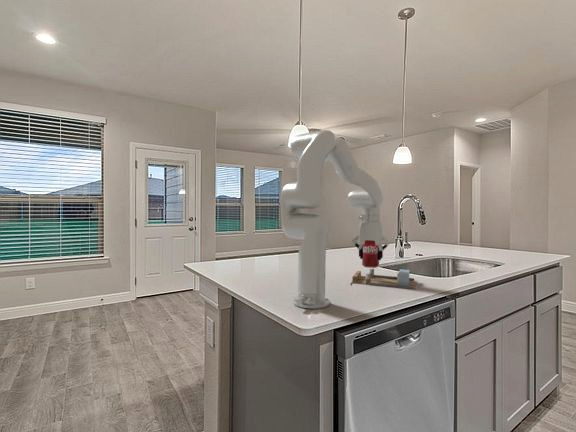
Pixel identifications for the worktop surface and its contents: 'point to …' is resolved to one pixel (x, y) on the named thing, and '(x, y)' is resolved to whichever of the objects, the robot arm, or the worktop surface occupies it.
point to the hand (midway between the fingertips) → (370, 258)
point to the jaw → (403, 277)
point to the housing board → (381, 281)
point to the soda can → (370, 254)
